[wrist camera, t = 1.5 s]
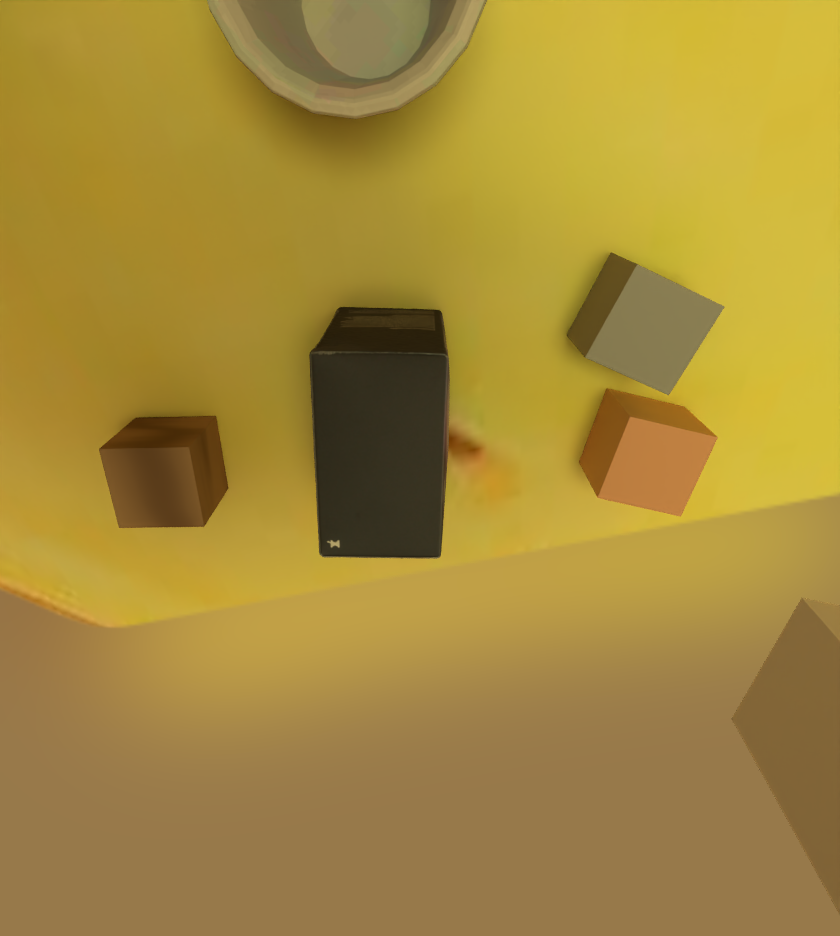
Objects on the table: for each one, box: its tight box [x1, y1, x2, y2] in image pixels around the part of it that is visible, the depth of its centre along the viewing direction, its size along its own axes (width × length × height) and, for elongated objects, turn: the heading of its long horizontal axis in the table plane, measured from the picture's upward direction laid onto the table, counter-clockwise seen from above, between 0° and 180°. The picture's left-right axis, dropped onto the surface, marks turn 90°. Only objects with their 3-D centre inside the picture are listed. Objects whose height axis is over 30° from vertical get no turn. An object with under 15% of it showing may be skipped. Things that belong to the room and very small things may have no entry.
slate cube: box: [567, 253, 724, 395], centre depth 35 cm, size 5×5×5 cm
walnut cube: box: [99, 416, 228, 528], centre depth 39 cm, size 5×5×5 cm
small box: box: [309, 307, 450, 558], centre depth 34 cm, size 11×6×10 cm, turn 179°
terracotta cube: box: [579, 388, 718, 516], centre depth 38 cm, size 5×5×5 cm
